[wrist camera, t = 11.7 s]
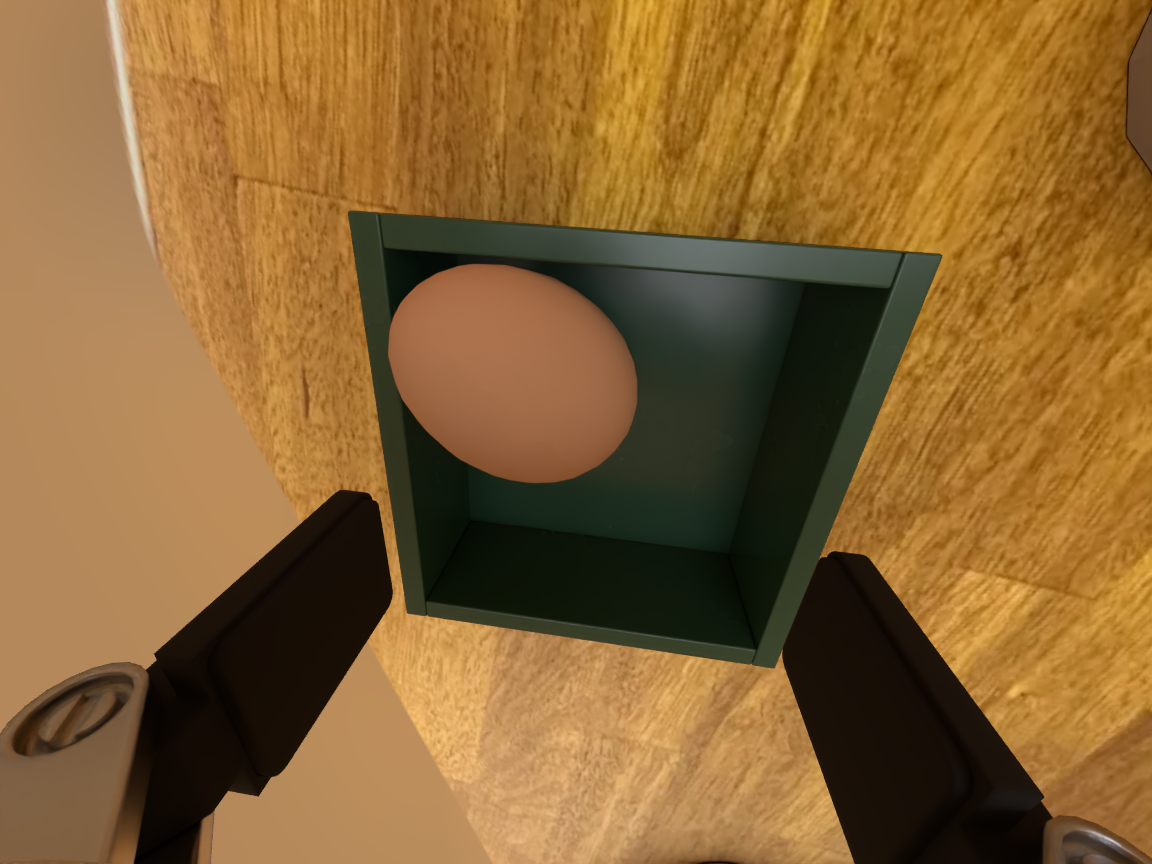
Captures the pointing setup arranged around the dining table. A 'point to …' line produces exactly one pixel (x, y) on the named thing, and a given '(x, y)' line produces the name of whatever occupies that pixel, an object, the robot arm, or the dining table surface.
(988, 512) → the dining table surface
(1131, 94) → the cup
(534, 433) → the egg
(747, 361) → the dark green open crate
